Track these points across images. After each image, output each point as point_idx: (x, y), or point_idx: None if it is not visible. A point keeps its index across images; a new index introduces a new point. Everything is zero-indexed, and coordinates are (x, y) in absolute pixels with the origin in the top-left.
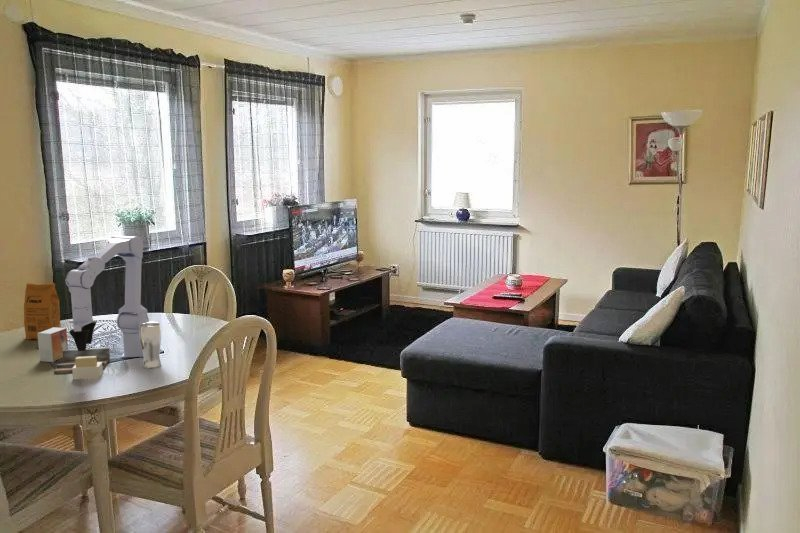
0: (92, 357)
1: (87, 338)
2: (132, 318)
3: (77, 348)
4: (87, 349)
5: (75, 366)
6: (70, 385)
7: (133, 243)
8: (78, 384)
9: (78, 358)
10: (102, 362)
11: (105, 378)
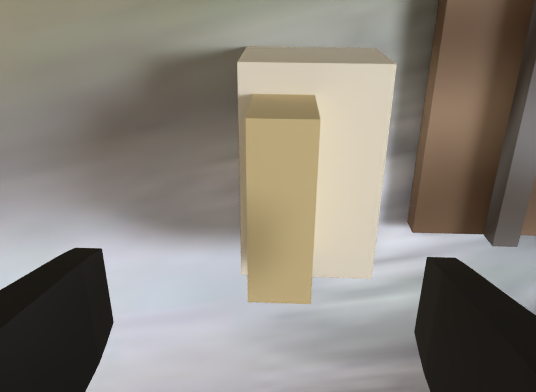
0: (260, 278)
1: (450, 359)
2: None
3: (45, 265)
4: None
5: (288, 81)
6: (108, 60)
7: None
8: (127, 115)
9: (250, 151)
10: (495, 234)
11: (232, 263)
